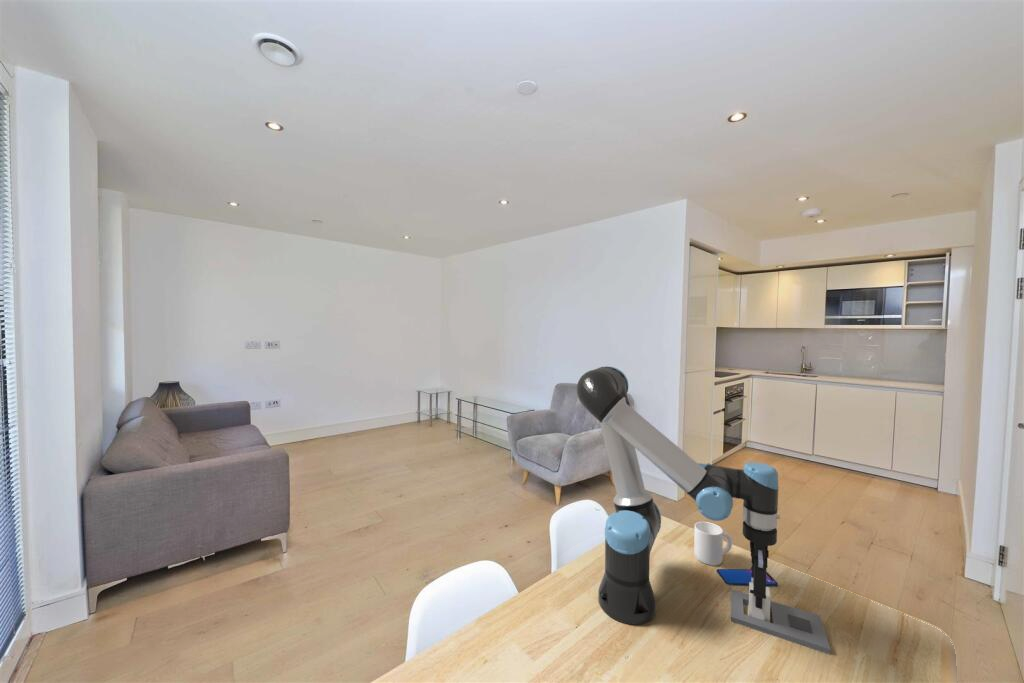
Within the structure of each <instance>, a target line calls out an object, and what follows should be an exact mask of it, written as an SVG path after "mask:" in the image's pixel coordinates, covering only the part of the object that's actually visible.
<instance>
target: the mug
mask: <svg viewBox="0 0 1024 683" xmlns="http://www.w3.org/2000/svg"><path fill="white" fill-rule="evenodd" d="M693 532H694V541H693V545H694V546H693V553H694V558H696V560H698V562H700V563H702V564H705V565H707V566H712V567H713V566H718V565H720V564H721V563H723V555H725V554H727V553H729V552H730V550H732V547H733V541H732V540H733V539H732V536H731V535H730V534H729V533H728V532H726V531H724V530H723V528H722V527H721V526H719V525H717V524H716V523H713V522H709V521H698V522H696V523H694V531H693ZM724 538H726V540H727V543H726V545H725V546H726V547H724ZM721 565H722V564H721Z"/></svg>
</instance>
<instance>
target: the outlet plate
mask: <svg viewBox="0 0 1024 683" xmlns="http://www.w3.org/2000/svg"><path fill="white" fill-rule="evenodd" d="M730 590H731V591H730V592H731V593H730V597H731V598H730V601H731V602H730V620H731V621H730V622H731V623H732V622H733V623H735V624H737V625H740V626H744V627H747V628H750V629H752V630H756V631H758V632H762V633H765V634H768V635H769V636H770V635H771V636H773V637H777V638H779V639H783V640H786V641H789V642H792V643H795V644H797V645H801V646H804V647H807V648H810V649H814V650H816V651H819V652H822V653H824V654H828V655H831V646H830V643H829V641H828V636H827V634H826V630H825V627H824V624H823V621H822V617H821V615H819V614H818V613H817V614H816V613H814V612H810V611H806V610H803V609H800V608H796V607H792V606H789V605H786V604H783V603H779V602H776V601H772V600H770V616H771V620H772V622H767V621H764V620H761V619H758V618H754V617H751V616H749V614H748V615H747V614H744V604H746V605H748V606H749V593H745V592H742V591H738V590H736V589H732V588H731V589H730Z"/></svg>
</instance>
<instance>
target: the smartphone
mask: <svg viewBox="0 0 1024 683" xmlns="http://www.w3.org/2000/svg"><path fill="white" fill-rule="evenodd" d="M716 573H717V574H718V575H719V577H721V579H722V581H723V582H724V583H725V584H726V585H728V586H739V587H740V586H744V587H747V586H748V587H749V582H751V578H754V577H752V575H751V573H752V570H751V568H749V569H748V568H744V569H743V568H740V569H739V568H738V569H737V568H717V569H716ZM778 583H779V582H777V581H776V580H775V578H774V577H772V575H771V574H769V572H768V571H766V587H768V588H770V587H772V588H773V587H776V588H777V587H779V586H778V585H779V584H778Z"/></svg>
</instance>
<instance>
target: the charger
mask: <svg viewBox="0 0 1024 683" xmlns="http://www.w3.org/2000/svg"><path fill="white" fill-rule="evenodd" d="M750 590H753V583H751V582H749V586H748V594H749V605H748V616H751V617H752V593H750ZM770 592H771V591H770V587H769V586H766V599H765V620H764V621H767V622H770V621H771V620H770V619H771V611H770V601H771V593H770ZM754 618H755V617H754ZM770 623H771V622H770Z"/></svg>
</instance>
